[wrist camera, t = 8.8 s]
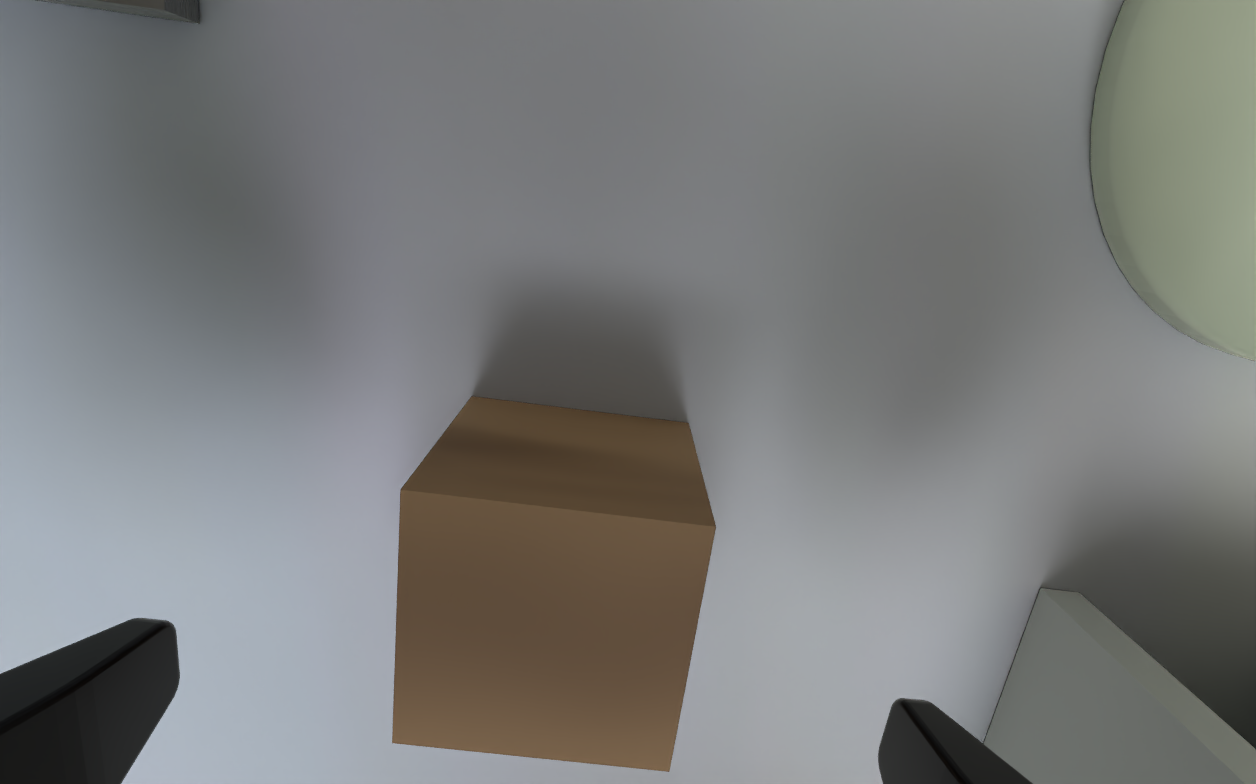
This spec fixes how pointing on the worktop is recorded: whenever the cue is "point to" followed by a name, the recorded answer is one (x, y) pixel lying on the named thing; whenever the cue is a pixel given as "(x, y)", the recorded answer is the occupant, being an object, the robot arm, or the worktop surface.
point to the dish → (1182, 163)
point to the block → (550, 585)
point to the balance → (143, 7)
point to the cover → (1105, 709)
